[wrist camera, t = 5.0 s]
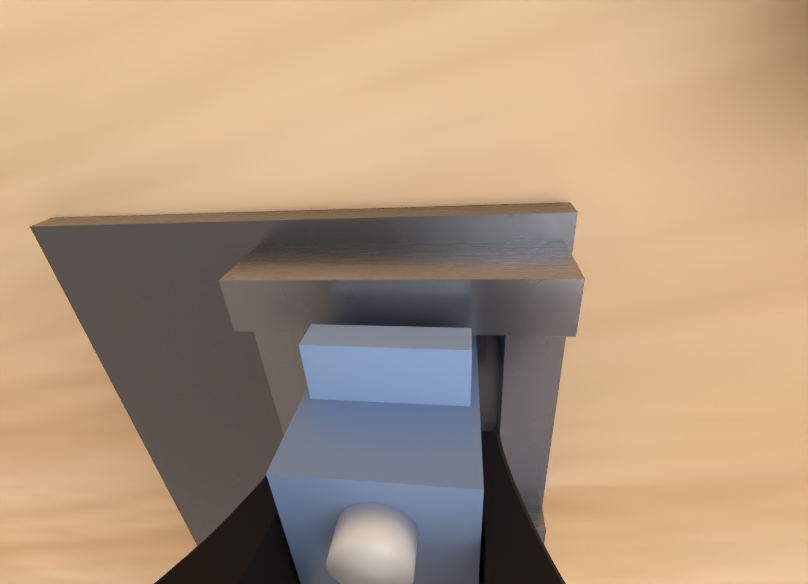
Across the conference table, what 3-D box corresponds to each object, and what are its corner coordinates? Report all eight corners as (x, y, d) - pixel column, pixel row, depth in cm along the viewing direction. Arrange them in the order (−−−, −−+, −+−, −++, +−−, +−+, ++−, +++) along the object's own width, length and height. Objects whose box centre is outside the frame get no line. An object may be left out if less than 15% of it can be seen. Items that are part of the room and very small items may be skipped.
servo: (469, 500, 15) (473, 719, 10) (362, 492, 16) (315, 696, 11) (477, 281, 11) (490, 471, 6) (329, 279, 11) (223, 453, 6)
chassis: (521, 596, 21) (530, 673, 18) (223, 565, 23) (192, 629, 20) (570, 202, 11) (602, 246, 9) (52, 218, 13) (-47, 255, 11)
